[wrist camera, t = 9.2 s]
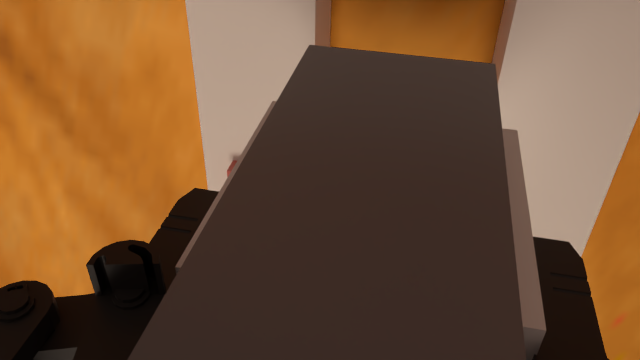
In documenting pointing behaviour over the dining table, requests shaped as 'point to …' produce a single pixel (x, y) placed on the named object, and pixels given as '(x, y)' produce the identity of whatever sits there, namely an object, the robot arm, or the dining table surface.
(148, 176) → the dining table surface
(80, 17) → the dining table surface
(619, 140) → the socket
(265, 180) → the plug
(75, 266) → the dining table surface
